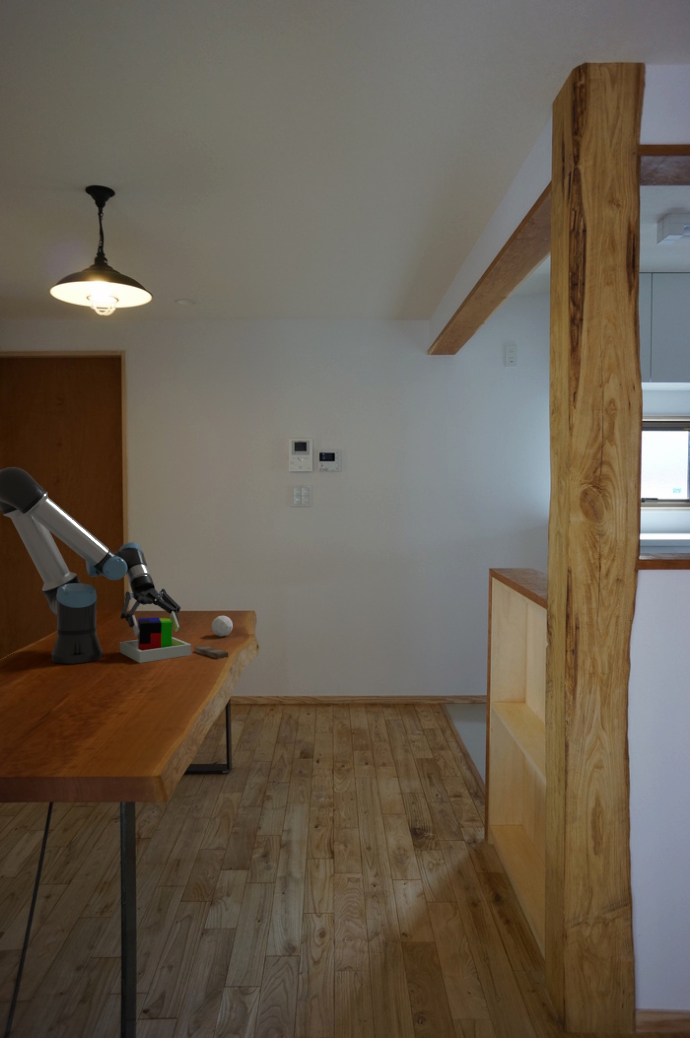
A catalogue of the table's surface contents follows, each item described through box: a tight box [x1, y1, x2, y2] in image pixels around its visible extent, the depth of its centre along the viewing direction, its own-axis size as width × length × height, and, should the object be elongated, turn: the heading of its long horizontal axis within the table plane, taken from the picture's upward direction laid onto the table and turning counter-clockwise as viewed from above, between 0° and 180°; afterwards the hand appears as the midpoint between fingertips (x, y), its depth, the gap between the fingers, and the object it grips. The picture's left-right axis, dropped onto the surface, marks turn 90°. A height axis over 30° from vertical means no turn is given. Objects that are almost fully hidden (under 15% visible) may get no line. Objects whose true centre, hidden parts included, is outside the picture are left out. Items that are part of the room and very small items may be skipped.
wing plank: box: [193, 645, 229, 660], centre depth 222 cm, size 14×4×2 cm, turn 45°
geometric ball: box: [211, 615, 234, 638], centre depth 250 cm, size 8×8×8 cm
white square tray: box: [119, 636, 192, 664], centre depth 222 cm, size 17×17×4 cm
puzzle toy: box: [137, 616, 173, 651], centre depth 221 cm, size 10×10×10 cm
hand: (157, 631), depth 220 cm, fingers open, 13 cm apart
